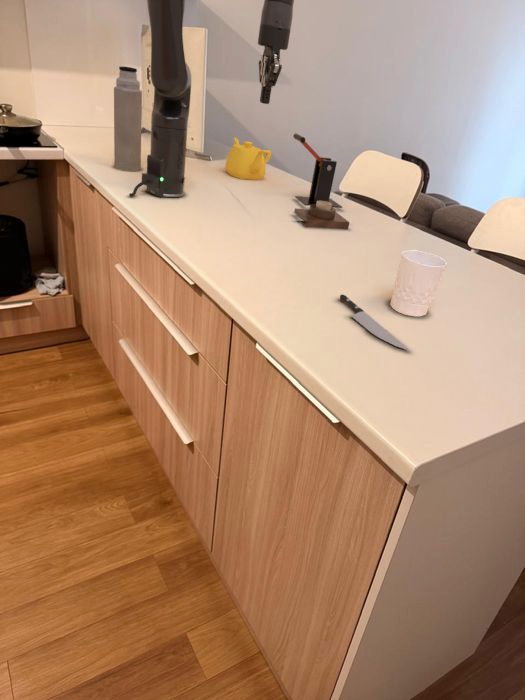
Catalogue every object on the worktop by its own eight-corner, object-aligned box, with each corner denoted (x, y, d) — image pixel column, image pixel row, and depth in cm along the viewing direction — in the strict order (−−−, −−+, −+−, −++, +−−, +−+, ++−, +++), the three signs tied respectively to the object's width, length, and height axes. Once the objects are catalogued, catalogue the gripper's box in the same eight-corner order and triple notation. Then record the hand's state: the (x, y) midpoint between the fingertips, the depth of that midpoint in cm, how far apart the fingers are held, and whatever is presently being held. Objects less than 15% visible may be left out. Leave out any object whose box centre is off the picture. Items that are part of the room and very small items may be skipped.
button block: (306, 227, 130) (309, 212, 128) (293, 215, 138) (296, 200, 136) (347, 229, 134) (351, 214, 132) (333, 217, 142) (336, 203, 140)
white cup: (381, 297, 97) (396, 247, 92) (420, 301, 98) (436, 252, 93) (394, 316, 90) (410, 263, 85) (435, 320, 91) (454, 268, 86)
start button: (318, 211, 132) (320, 204, 131) (313, 206, 135) (314, 200, 135) (332, 211, 133) (334, 205, 133) (326, 207, 137) (328, 201, 136)
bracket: (304, 208, 147) (313, 160, 140) (294, 199, 154) (302, 154, 147) (341, 210, 150) (351, 164, 144) (330, 202, 158) (339, 157, 151)
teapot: (283, 184, 170) (288, 150, 165) (241, 183, 163) (245, 147, 158) (253, 168, 186) (257, 137, 181) (215, 166, 179) (218, 134, 174)
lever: (298, 141, 138) (304, 134, 137) (291, 137, 143) (296, 130, 142) (329, 174, 145) (335, 168, 145) (321, 169, 150) (327, 163, 149)
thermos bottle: (123, 163, 163) (123, 65, 149) (145, 168, 162) (147, 69, 148) (109, 167, 157) (108, 64, 143) (132, 172, 155) (132, 68, 141)
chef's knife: (392, 354, 78) (408, 351, 79) (394, 348, 78) (409, 345, 79) (329, 299, 92) (342, 297, 94) (330, 294, 92) (343, 292, 93)
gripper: (253, 22, 127) (244, 98, 136) (268, 22, 117) (257, 104, 125) (281, 28, 130) (270, 102, 138) (298, 28, 119) (285, 108, 128)
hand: (264, 103), depth 132 cm, fingers closed
